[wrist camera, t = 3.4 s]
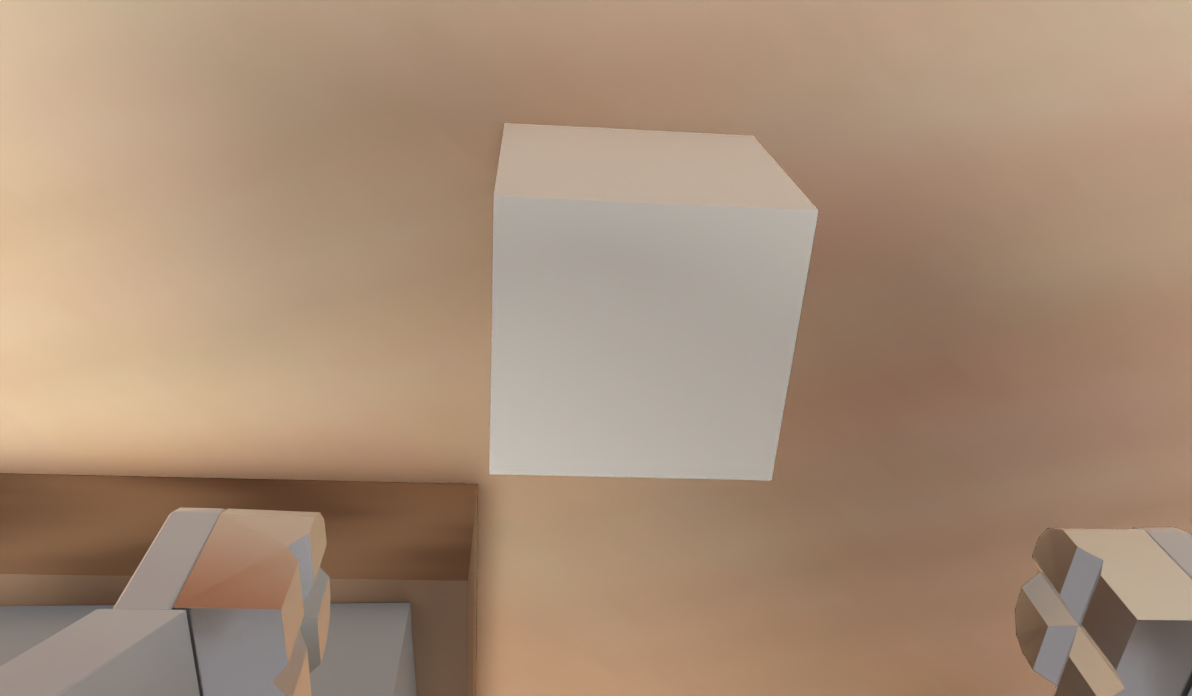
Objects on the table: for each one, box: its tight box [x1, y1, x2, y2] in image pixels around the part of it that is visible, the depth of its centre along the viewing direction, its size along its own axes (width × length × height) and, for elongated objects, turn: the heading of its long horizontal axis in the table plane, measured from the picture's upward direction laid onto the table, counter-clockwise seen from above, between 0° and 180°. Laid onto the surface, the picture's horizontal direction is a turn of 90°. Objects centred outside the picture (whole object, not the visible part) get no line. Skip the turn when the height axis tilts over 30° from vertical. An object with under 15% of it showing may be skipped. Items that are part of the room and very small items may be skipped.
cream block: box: [489, 123, 819, 480], centre depth 18 cm, size 5×5×5 cm
